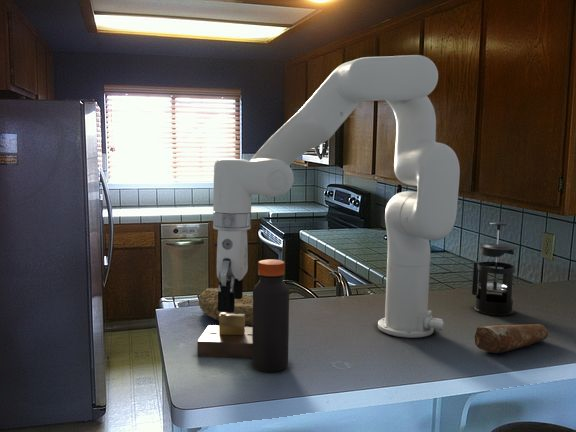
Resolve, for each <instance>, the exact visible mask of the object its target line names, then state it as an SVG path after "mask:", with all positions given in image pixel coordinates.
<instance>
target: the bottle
mask: <svg viewBox="0 0 576 432" xmlns="http://www.w3.org/2000/svg"><path fill="white" fill-rule="evenodd" d="M285 269H286V262H285V261H284V260H281V259H273V258H271V259H262V260H258V262H257V275H258V276H257V277H259V281H258V282H257V283H256V284H255V285H254V286H253V288H252V298H253V325H252V327H253V335H252V358H251V362H252V363H251V365H252V367H253V368H254V369H255V370H257V371H260V372H264V373H276V372H281V371H283V370H285V369H286V368H287V367H288V365H289V336H290V333H289V328H290V287H289V285H288V284H286V283H285V282H284V279H283V278H284V277H285V273H286V271H285Z"/></svg>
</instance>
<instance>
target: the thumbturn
mask: <svg viewBox="0 0 576 432" xmlns="http://www.w3.org/2000/svg"><path fill="white" fill-rule="evenodd" d="M218 323H219V325H218V326H219V334H222V335H244V333H245V327H246V325H245V314H226V312H222V313H221V314H220V315H219V321H218Z"/></svg>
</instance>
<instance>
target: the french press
mask: <svg viewBox="0 0 576 432" xmlns="http://www.w3.org/2000/svg"><path fill="white" fill-rule="evenodd" d="M489 224H490V225H493V226H496V231H497V234H496V242H488V243H479V244H478V247H479V248H480V249H479V250H480V255H482V256H485V257H490V258H495V261H480V260H479V261H474V262H473V266H472V267H473V268H472V288H471V295H473V296H475V305H474V307H473V309H474V311H476V312H478V314H479V313H480V314H483V315H486V316H487V315H488V316H493V317H508V316H512V315H514V310H513V304H514V300H513V297H512V294H513V280H514V274H515V273H516V266H515V265H513V264H511V263H507V262H502V261H498V258H500V257H502V256H504V255H505V254H509V255H512V256H514V255H515V251H516V250H517V247H516V246H515V245H511V244H505V243H499V238H500V231H501V229H502V228H501V227H502V226H508V225H509V224H508V223H507V222H502V221H492V222H489ZM489 274H494V280H493V282H488V277H489V276H488V275H489ZM497 275H502V283H499V282H497ZM487 292H489V293H487Z"/></svg>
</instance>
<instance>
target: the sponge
mask: <svg viewBox="0 0 576 432" xmlns="http://www.w3.org/2000/svg"><path fill="white" fill-rule="evenodd" d="M198 306H199V308H200V310H201V311H202V312H203V313H205V314H206V316H207V317H209V318H211V319H213V320H216V321H218V322H219V315H220V314H221V313H222V312H219V311H218V287H210V288H205V290H203V291H202V292H201V293H200V294H199V296H198ZM226 314H245V326H253V297H252V296H249V295H247V294H245V293H243V294H242V298H241V299H235V310H234V312H226Z"/></svg>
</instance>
